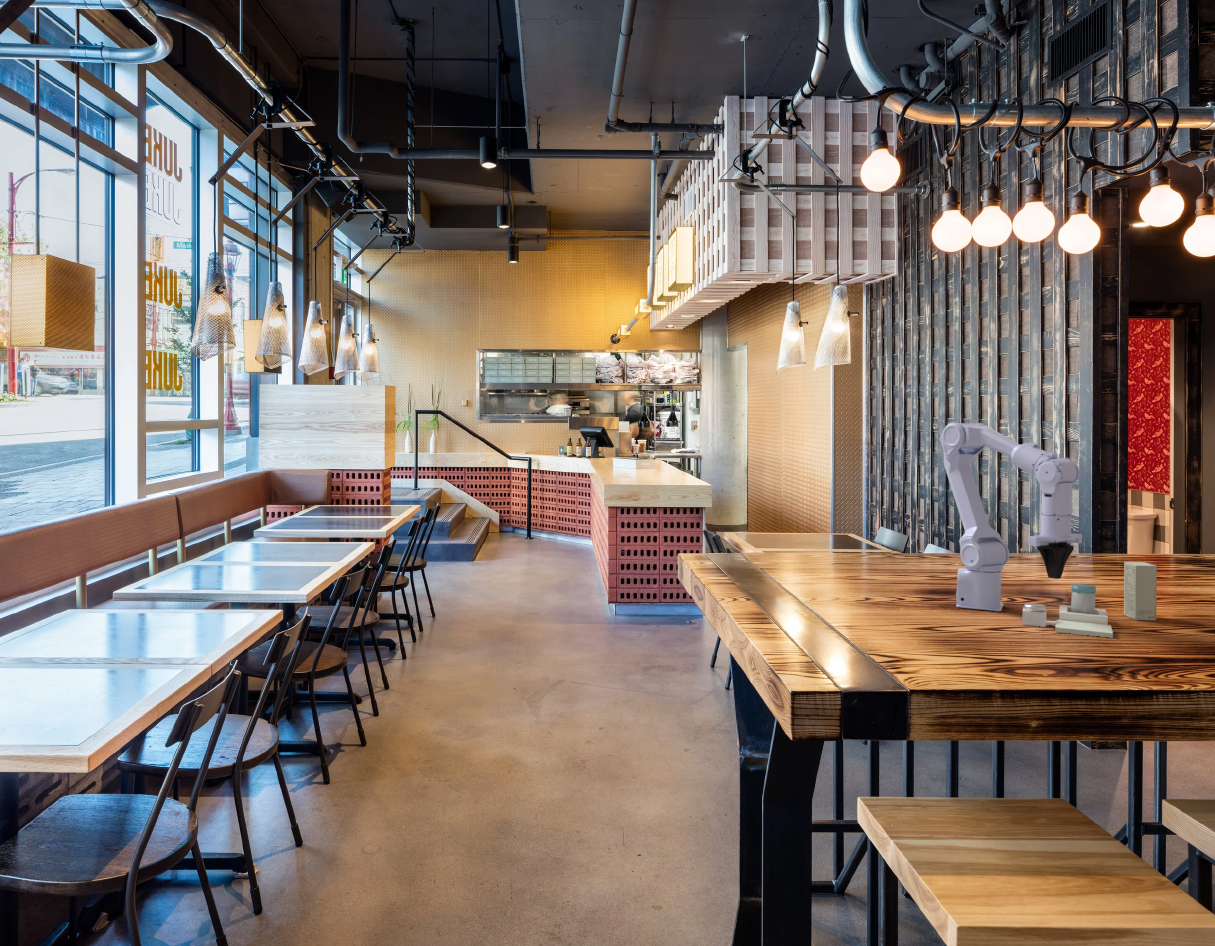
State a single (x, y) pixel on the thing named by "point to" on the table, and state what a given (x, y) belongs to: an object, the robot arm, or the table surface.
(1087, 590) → the cartridge
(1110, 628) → the pad
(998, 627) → the table surface
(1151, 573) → the skincare box
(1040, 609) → the plunger
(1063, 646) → the table surface
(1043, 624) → the holder
